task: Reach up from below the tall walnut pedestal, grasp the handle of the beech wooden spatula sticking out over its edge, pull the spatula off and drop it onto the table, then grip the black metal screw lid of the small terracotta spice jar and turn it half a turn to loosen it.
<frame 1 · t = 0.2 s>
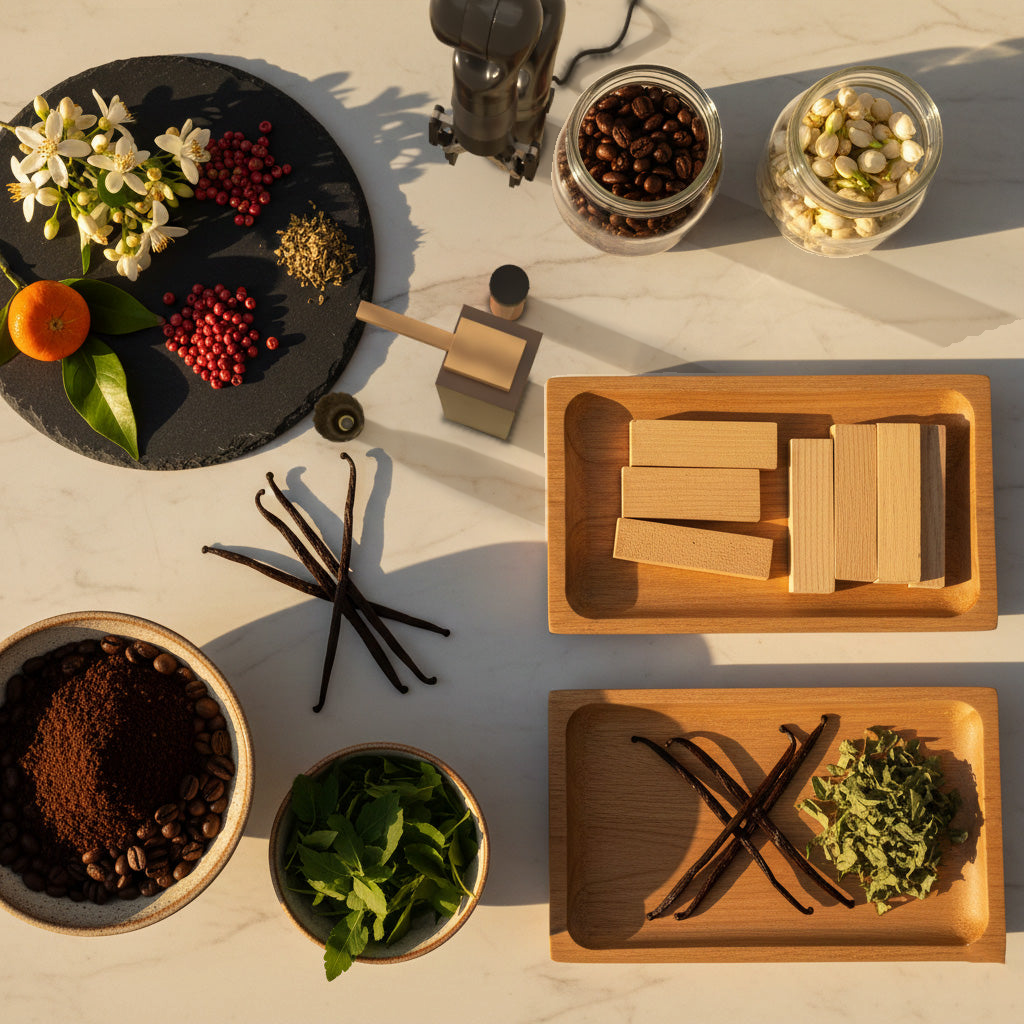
hand: (483, 170, 108), 17 cm above the counter, tool pointing down, fingers open, 8 cm apart
jar lid: (509, 285, 115), point 10 cm above the counter, screwed on, not yet turned
brown funnel: (347, 423, 124), on the counter
pedestal: (486, 399, 125), on the counter
spice jar: (506, 304, 125), on the counter
spatula: (485, 356, 94), point 31 cm above the counter, touching pedestal
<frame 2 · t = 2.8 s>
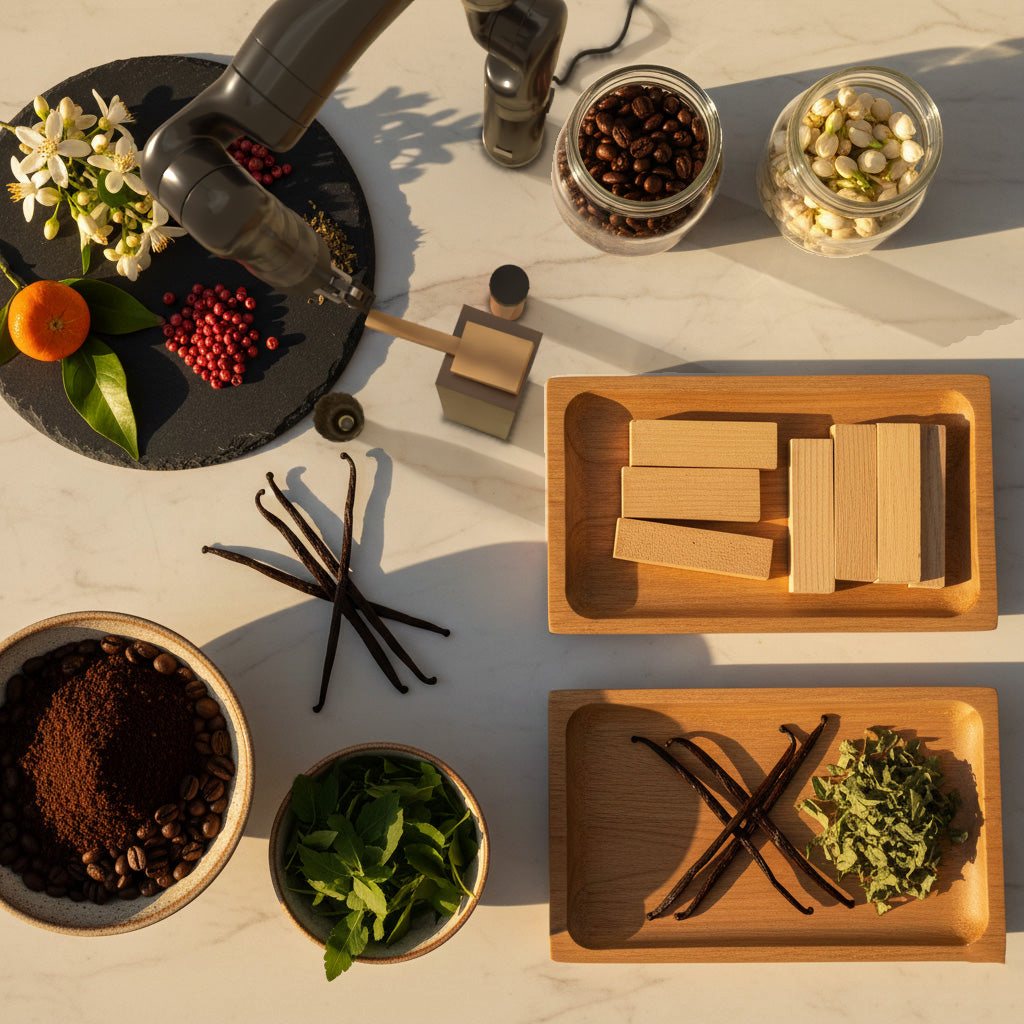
hand: (332, 289, 98), 26 cm above the counter, tool pointing down, fingers open, 8 cm apart
spatula: (493, 359, 93), point 32 cm above the counter, tilted 8°, touching gripper
everything else where it was.
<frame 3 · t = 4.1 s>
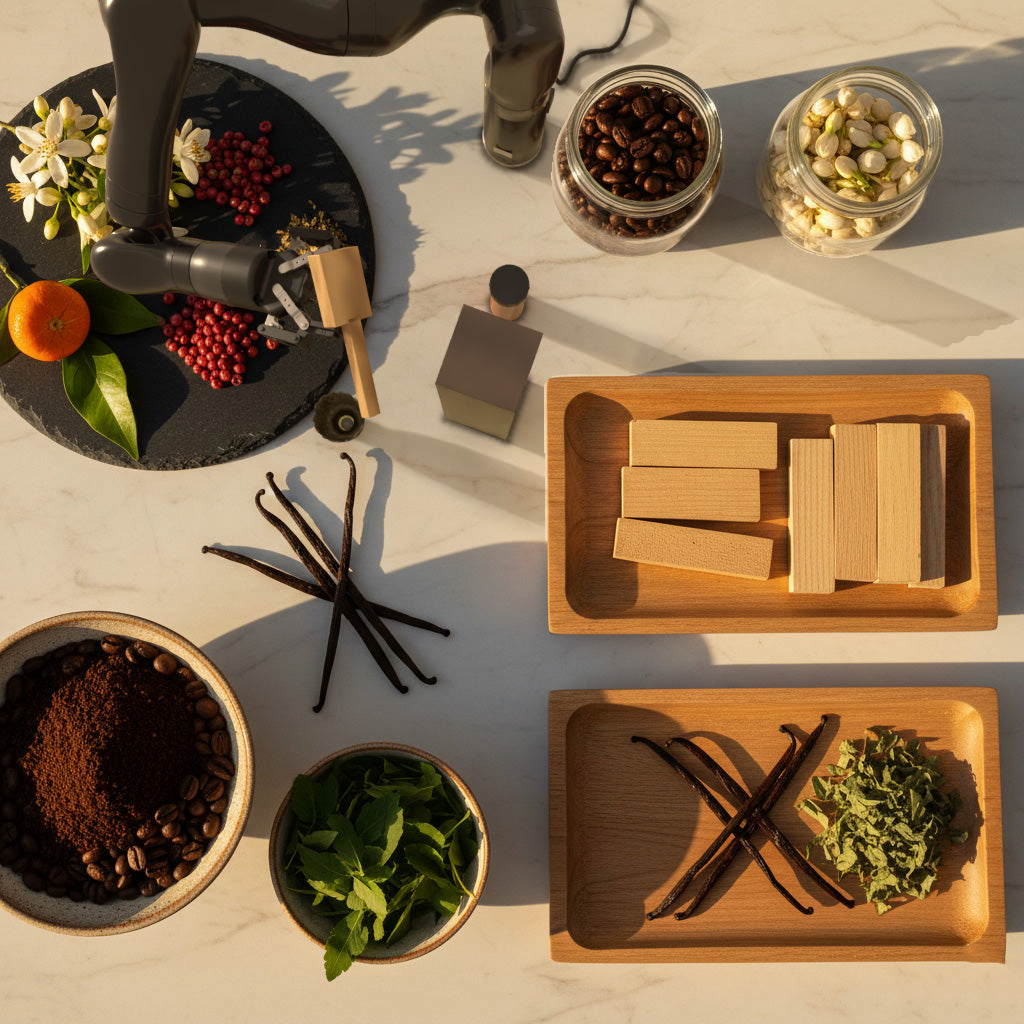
hand: (352, 297, 94), 30 cm above the counter, tool pointing upward
spatula: (347, 286, 92), point 33 cm above the counter, tilted 127°, touching gripper
everything else where it was.
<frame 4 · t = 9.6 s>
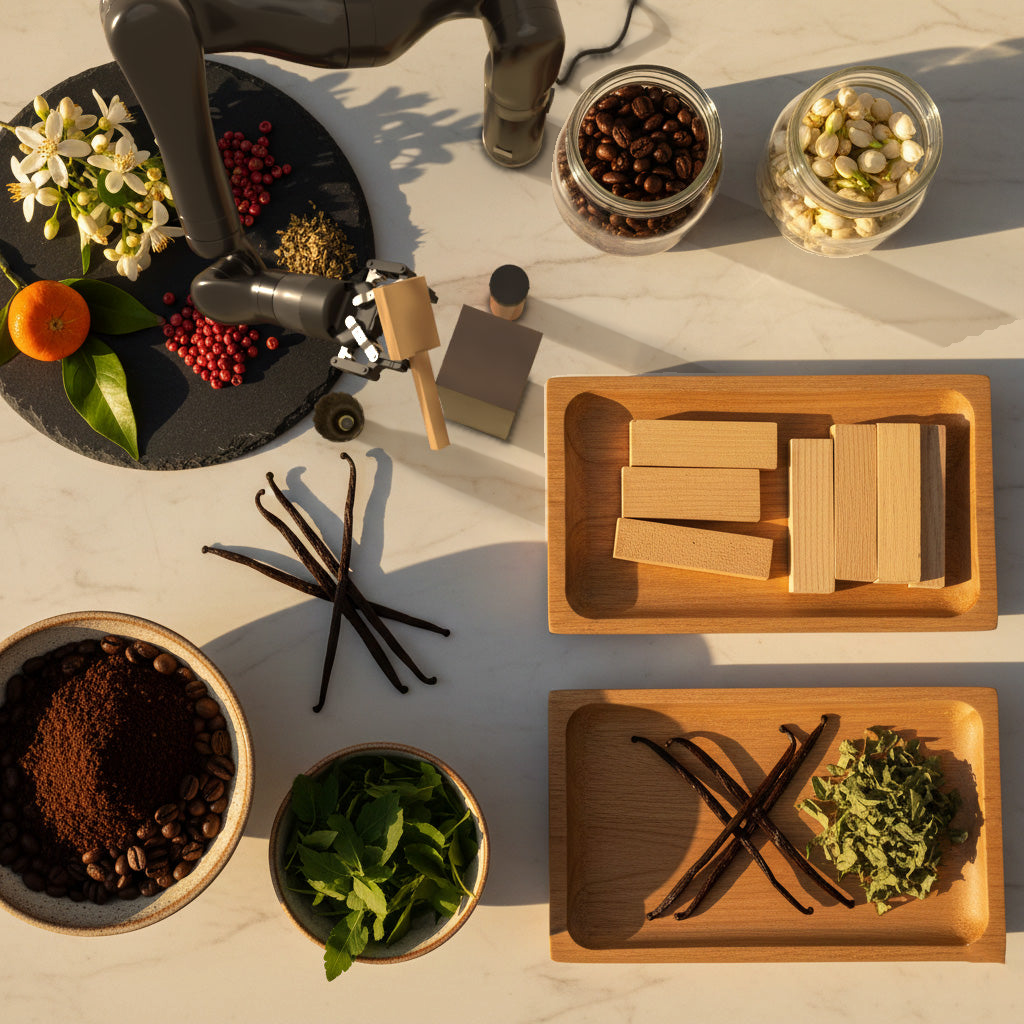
hand: (422, 330, 92), 33 cm above the counter, tool pointing upward, fingers closed on spatula, 7 cm apart
spatula: (413, 318, 89), point 35 cm above the counter, tilted 137°, touching gripper
everything else where it was.
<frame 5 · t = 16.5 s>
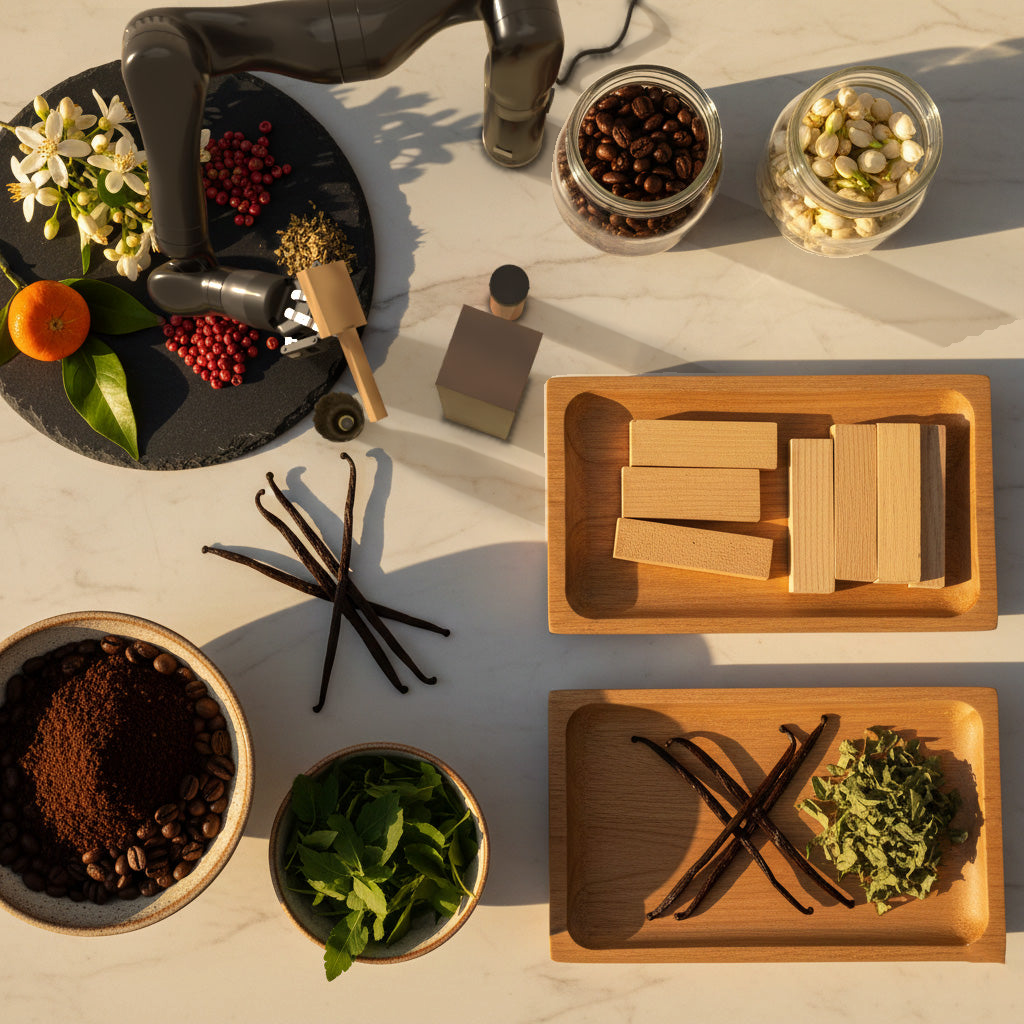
hand: (358, 323, 101), 23 cm above the counter, tool pointing upward, fingers closed on spatula, 2 cm apart
spatula: (337, 297, 96), point 28 cm above the counter, tilted 135°, touching gripper
everything else where it was.
when the fingers open (23 cm above the counter, at t = 16.8 s): spatula drops 23 cm, on the counter.
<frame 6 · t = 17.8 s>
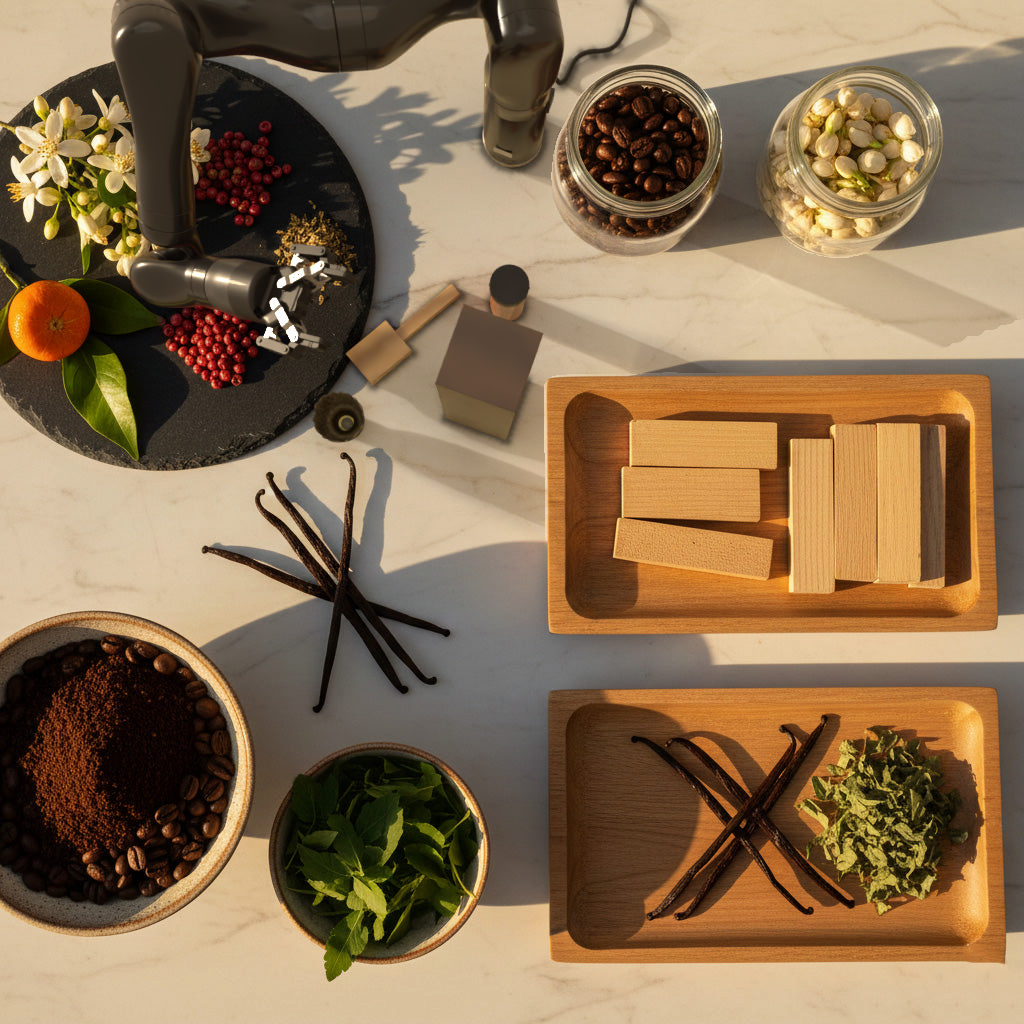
hand: (339, 310, 97), 27 cm above the counter, tool pointing upward, fingers open, 8 cm apart
spatula: (380, 354, 124), on the counter
everything else where it was.
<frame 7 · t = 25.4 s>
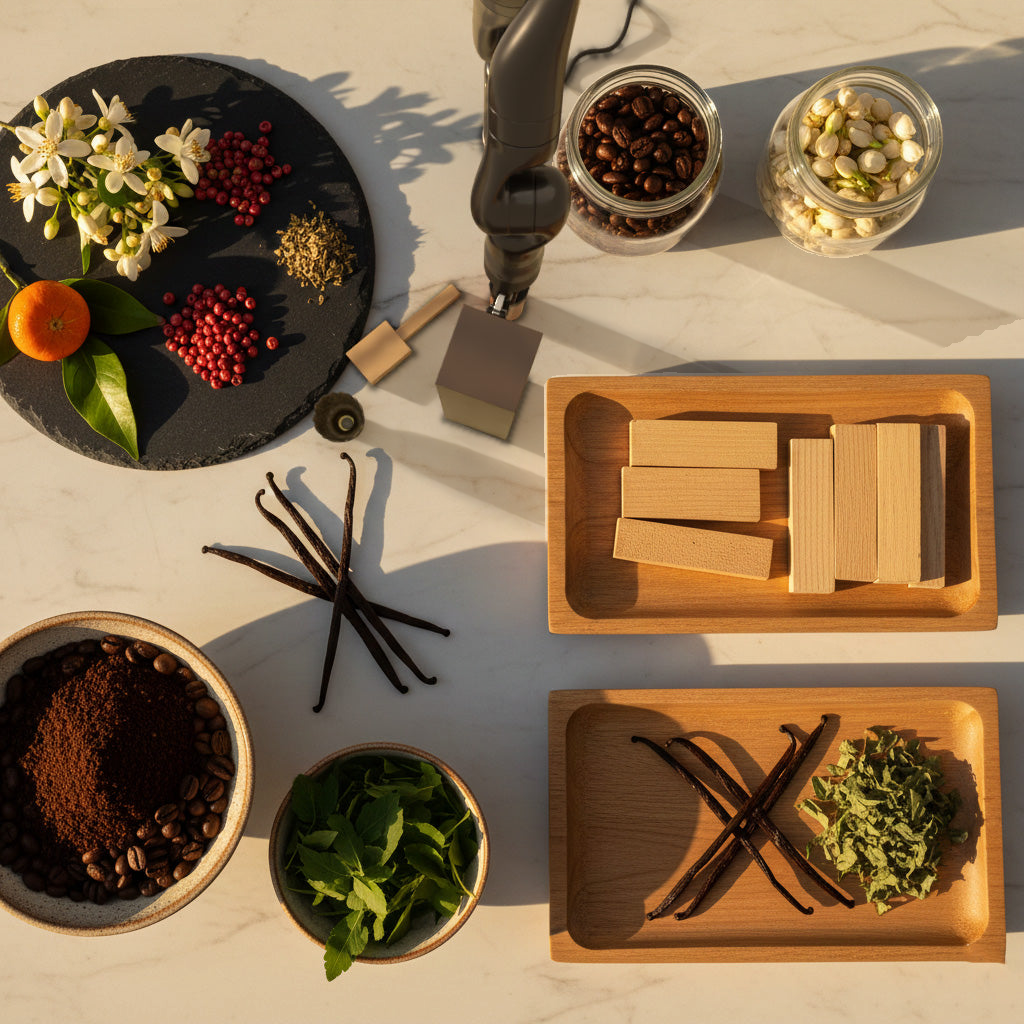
hand: (508, 291, 118), 7 cm above the counter, tool pointing down, fingers closed on jar lid, 5 cm apart
jar lid: (509, 285, 115), point 10 cm above the counter, screwed on, not yet turned, touching gripper
everything else where it was.
when the fingers open (7 cm above the counter, at t = 28.3 s): jar lid stays where it is, point 11 cm above the counter.
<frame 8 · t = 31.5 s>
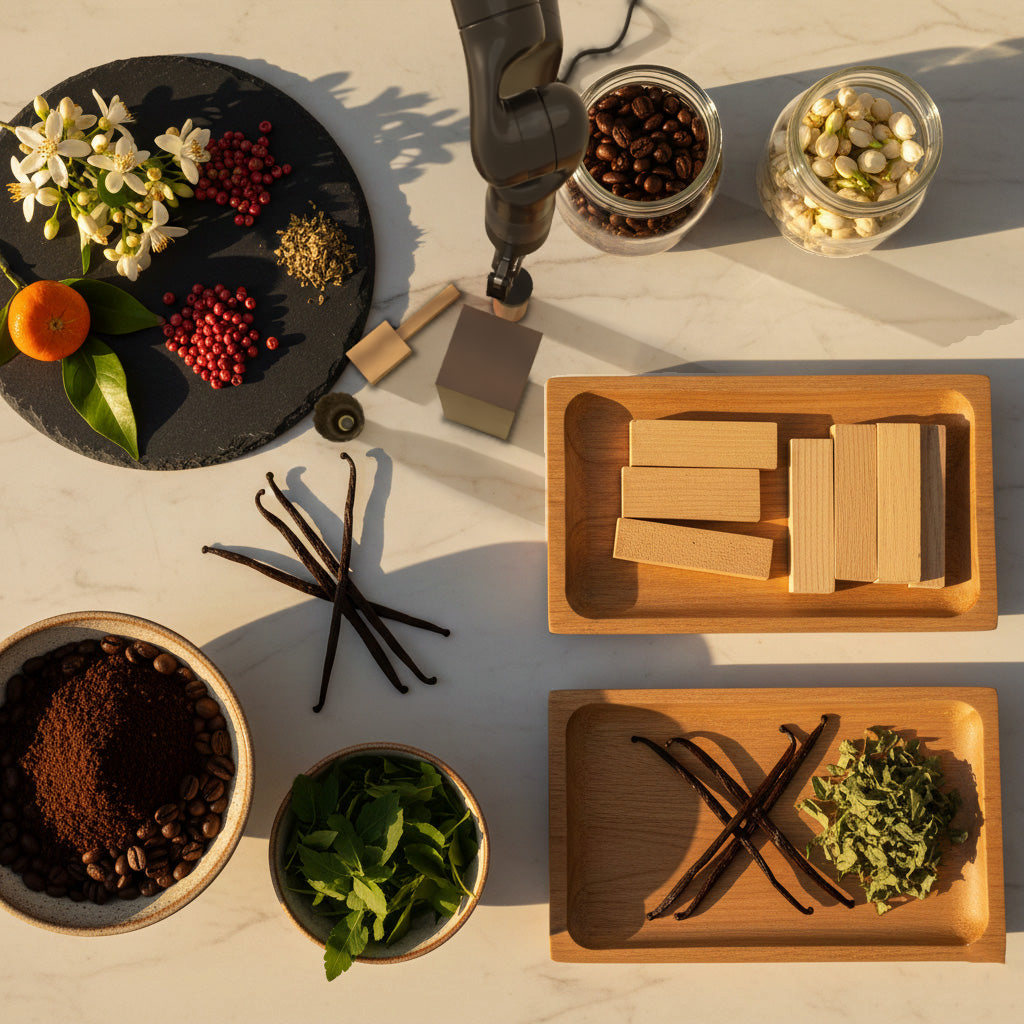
hand: (513, 258, 103), 22 cm above the counter, tool pointing down, fingers open, 8 cm apart
jar lid: (512, 285, 114), point 11 cm above the counter, turned 144° so far, risen 0.2 cm, still on its thread
everything else where it was.
at the end: spatula on the counter; jar lid turned 0.40 turns (still on its thread); jar lid is still on its thread (0.40 turns) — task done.
